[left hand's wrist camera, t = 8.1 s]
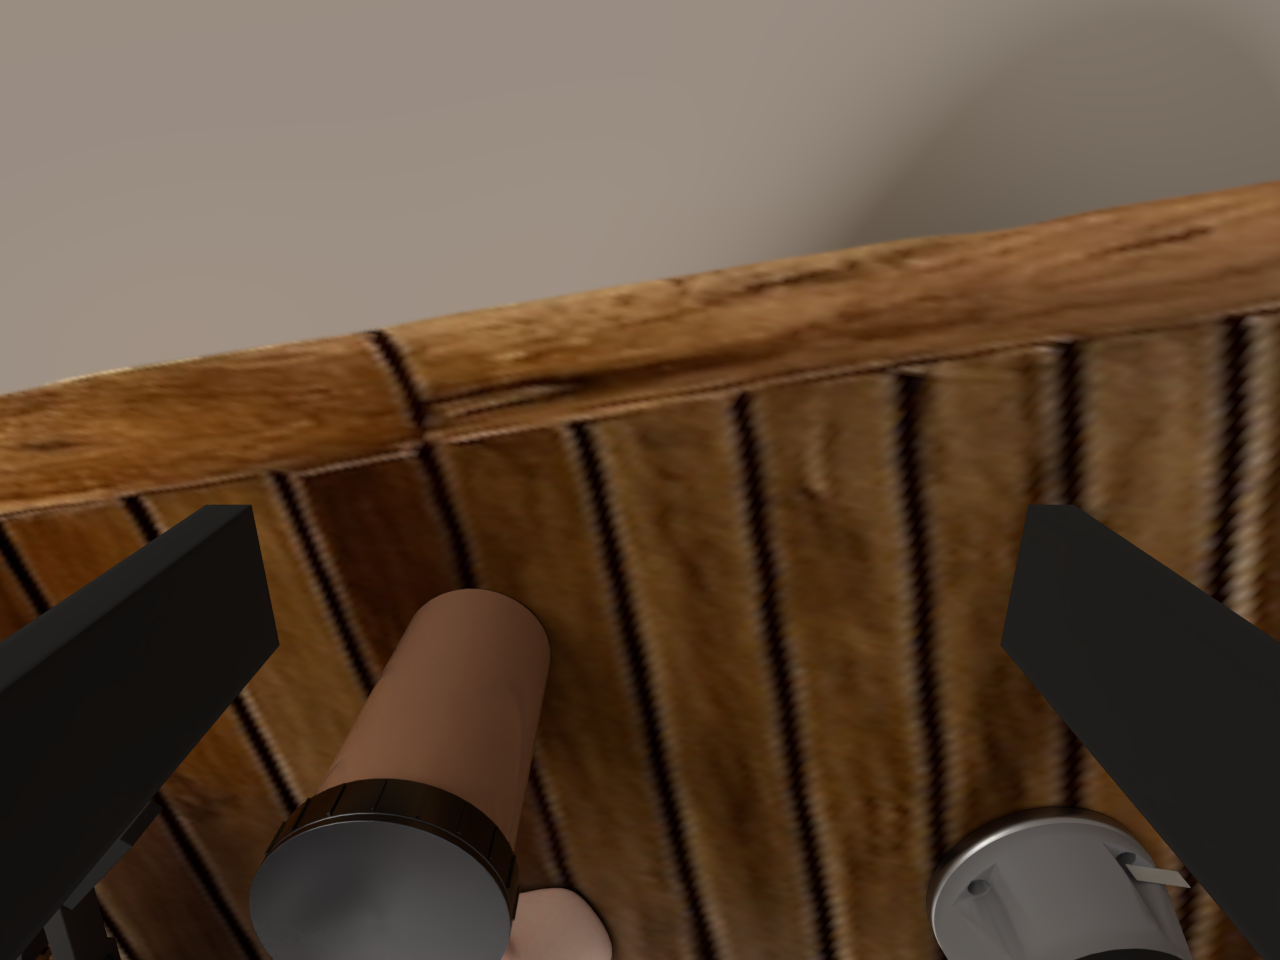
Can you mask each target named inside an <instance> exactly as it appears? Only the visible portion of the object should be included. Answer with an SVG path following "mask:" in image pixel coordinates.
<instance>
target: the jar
mask: <svg viewBox="0 0 1280 960" xmlns="http://www.w3.org/2000/svg"><path fill="white" fill-rule="evenodd" d="M550 659H551V654H550V646H549V641H548V638H547V635H546V633H545V631H544V629H543V627H542V625H541V624H540V622H539V621H538V620H537V618H536V617H535V616H534V615H533V614H532V613H531V612H530V611H529V610H528V609H527V608H526V607H524V606H523V605H522V604H520V603H519V602H517V601H515V600H514V599H512V598H510V597H508V596H506V595H503V594H500V593H497V592H493V591H489V590H482V589H462V590H455V591H451V592H447V593H445V594H442V595H439V596H437V597H436V598H434V599H432V600H430V601H429V602H427V603H426V604H425V605H423V606H422V607H421V608H420V609H419V610H418V611H417V613H416V614H415V615H414V617H413V618H412V620H411V621H410V623H409V625H408V627H407V629H406V630H405V632H404V634H403V636H402V638H401V640H400V641H399V643H398V645H397V647H396V649H395V650H394V652H393V654H392V656H391V658H390V659H389V661H388V663H387V665H386V667H385V668H384V670H383V672H382V674H381V676H380V678H379V679H378V681H377V683H376V685H375V687H374V688H373V690H372V692H371V694H370V696H369V697H368V699H367V701H366V703H365V705H364V707H363V708H362V710H361V712H360V714H359V716H358V717H357V719H356V721H355V723H354V725H353V726H352V728H351V730H350V732H349V734H348V736H347V737H346V739H345V741H344V743H343V745H342V746H341V748H340V750H339V752H338V754H337V755H336V757H335V759H334V761H333V763H332V765H331V766H330V768H329V770H328V772H327V774H326V775H325V777H324V779H323V781H322V783H321V784H320V786H319V788H318V790H317V792H316V793H315V795H316V794H318V793H320V792H322V791H324V790H326V789H329V788H331V787H334V786H337V785H340V784H342V783H348V782H352V781H357V780H364V779H374V778H392V779H402V780H410V781H415V782H420V783H425V784H428V785H431V786H434V787H438V788H441V789H443V790H446V791H448V792H450V793H453V794H455V795H457V796H459V797H460V798H462V799H464V800H466V801H468V802H469V803H471V804H472V805H474V806H475V807H477V808H478V809H479V810H481V811H482V812H483V813H484V814H485V815H487V816H488V817H489V818H490V819H491V820H492V821H493V822H494V823H495V824H496V825H497V826H498V827H499V829H500V830H501V831H502V833H503V834H504V836H505V837H506V839H507V840H508V842H509V844H510V846H511V848H512V850H513V853H514V848H515V843H516V838H517V832H518V827H519V822H520V817H521V812H522V807H523V801H524V796H525V791H526V786H527V781H528V776H529V770H530V765H531V760H532V755H533V750H534V745H535V739H536V734H537V729H538V724H539V719H540V714H541V708H542V703H543V698H544V693H545V688H546V683H547V677H548V672H549V667H550ZM315 795H314V796H315Z"/></svg>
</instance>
